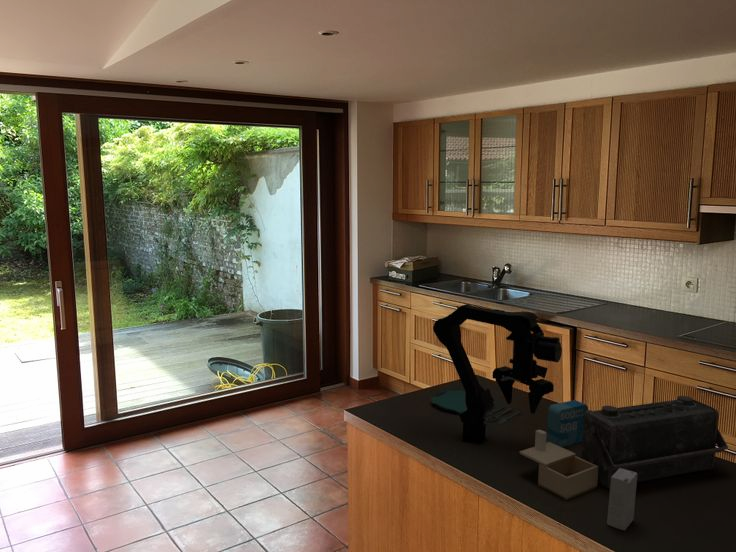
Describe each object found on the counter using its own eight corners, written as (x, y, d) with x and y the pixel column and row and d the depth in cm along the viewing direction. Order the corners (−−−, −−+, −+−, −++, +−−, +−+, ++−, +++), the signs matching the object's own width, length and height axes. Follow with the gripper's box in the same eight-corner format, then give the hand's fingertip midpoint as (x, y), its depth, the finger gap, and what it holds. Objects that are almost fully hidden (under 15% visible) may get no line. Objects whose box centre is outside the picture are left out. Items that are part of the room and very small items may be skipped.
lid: (519, 453, 165) (520, 433, 164) (549, 443, 171) (549, 424, 170) (545, 466, 157) (546, 445, 156) (575, 455, 164) (576, 435, 163)
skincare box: (615, 514, 146) (618, 466, 144) (634, 521, 143) (638, 472, 141) (605, 525, 141) (609, 475, 139) (626, 532, 138) (629, 482, 137)
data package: (556, 448, 182) (558, 410, 180) (546, 443, 186) (547, 405, 184) (586, 441, 187) (588, 403, 185) (575, 435, 191) (577, 399, 189)
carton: (538, 485, 160) (539, 464, 159) (568, 473, 166) (569, 453, 165) (566, 500, 152) (567, 478, 151) (597, 487, 159) (598, 466, 158)
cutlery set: (455, 392, 231) (455, 386, 231) (525, 414, 211) (525, 408, 210) (421, 405, 218) (421, 399, 217) (492, 431, 197) (493, 424, 196)
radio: (684, 453, 179) (690, 387, 176) (727, 475, 166) (733, 404, 162) (574, 472, 167) (578, 402, 164) (610, 497, 154) (615, 421, 151)
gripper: (568, 359, 173) (565, 412, 175) (518, 345, 188) (516, 394, 191) (540, 366, 167) (538, 421, 169) (492, 350, 182) (490, 400, 185)
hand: (520, 408), depth 178 cm, fingers open, 9 cm apart
